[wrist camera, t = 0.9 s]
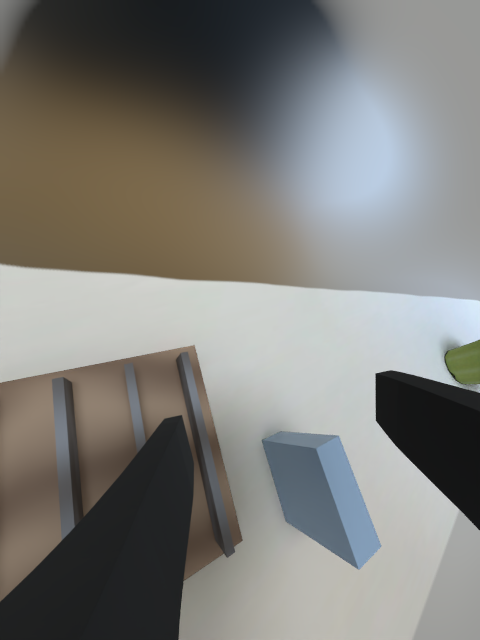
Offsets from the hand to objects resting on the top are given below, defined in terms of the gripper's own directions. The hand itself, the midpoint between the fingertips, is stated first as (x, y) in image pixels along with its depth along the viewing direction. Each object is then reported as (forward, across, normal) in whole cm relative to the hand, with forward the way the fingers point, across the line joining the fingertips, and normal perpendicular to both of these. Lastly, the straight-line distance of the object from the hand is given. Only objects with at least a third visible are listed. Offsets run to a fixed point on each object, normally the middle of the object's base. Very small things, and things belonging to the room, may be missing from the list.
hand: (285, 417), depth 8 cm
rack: (+8, +12, +8) cm, 17 cm away
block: (+11, -2, +15) cm, 18 cm away
